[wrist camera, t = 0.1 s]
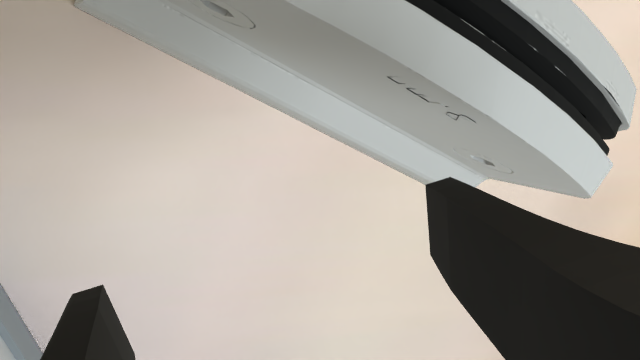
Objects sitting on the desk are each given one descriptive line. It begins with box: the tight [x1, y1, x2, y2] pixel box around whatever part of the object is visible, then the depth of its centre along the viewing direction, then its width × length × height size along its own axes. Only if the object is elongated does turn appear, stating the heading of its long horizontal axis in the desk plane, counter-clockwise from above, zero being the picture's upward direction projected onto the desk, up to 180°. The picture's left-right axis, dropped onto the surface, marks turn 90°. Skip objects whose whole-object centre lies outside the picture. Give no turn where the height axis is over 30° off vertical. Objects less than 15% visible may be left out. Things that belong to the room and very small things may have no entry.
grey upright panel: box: [74, 0, 636, 199], centre depth 19 cm, size 17×5×10 cm, turn 56°
